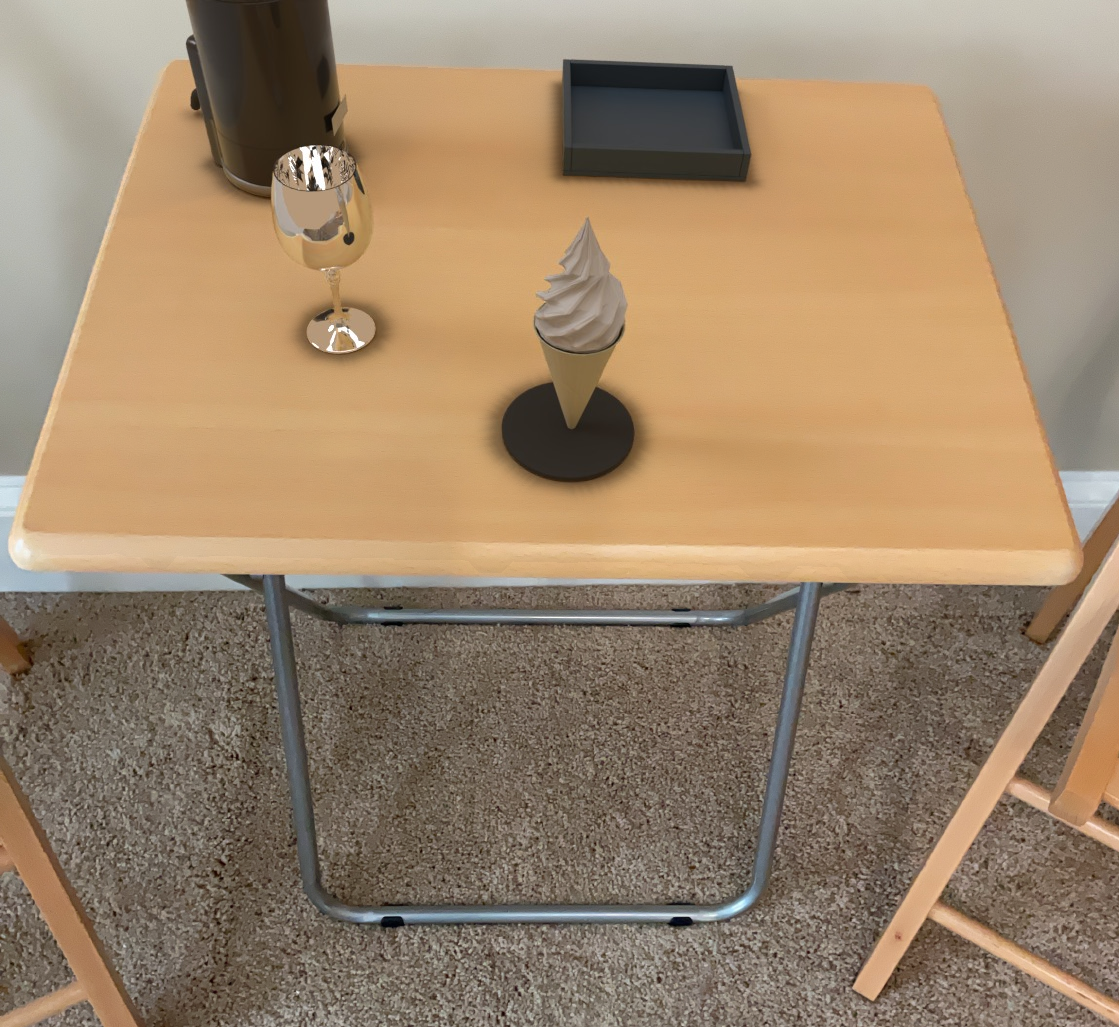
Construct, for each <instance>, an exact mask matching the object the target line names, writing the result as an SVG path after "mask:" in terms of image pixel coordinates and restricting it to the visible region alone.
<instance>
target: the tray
mask: <svg viewBox="0 0 1119 1027" xmlns="http://www.w3.org/2000/svg"><path fill="white" fill-rule="evenodd" d="M561 71H562V72H561V74H562V75H561V139H562V141H561V142H562V144H561V146H562V176H573V177H575V176H576V177H603V178H605V177H606V178H631V179H632V178H633V179H634V178H636V179H660V180H661V179H662V180H687V181H689V180H690V181H691V180H692V181H719V182H743V183H744V182H747V177H748V174H749V173H748V172H749V168H750V164H751V160H752V150H751V145H750V140H749V137H748V136H749V135H748V131H747V126H746V122H745V118H744V113H743V107H742V104H741V103H742V102H741V99H740V95H739V94H740V93H739V90H738V85H737V81H736V75H735V71H734V65H725V64H724V65H723V64H701V63H699V64H698V63H677V62H676V63H673V62H652V61H651V62H646V61H626V60H625V61H624V60H623V61H622V60H621V61H620V60H600V59H599V60H598V59H597V60H596V59H574V58H572V59H569V58H568V59H567V58H563V59H562V70H561Z"/></svg>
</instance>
